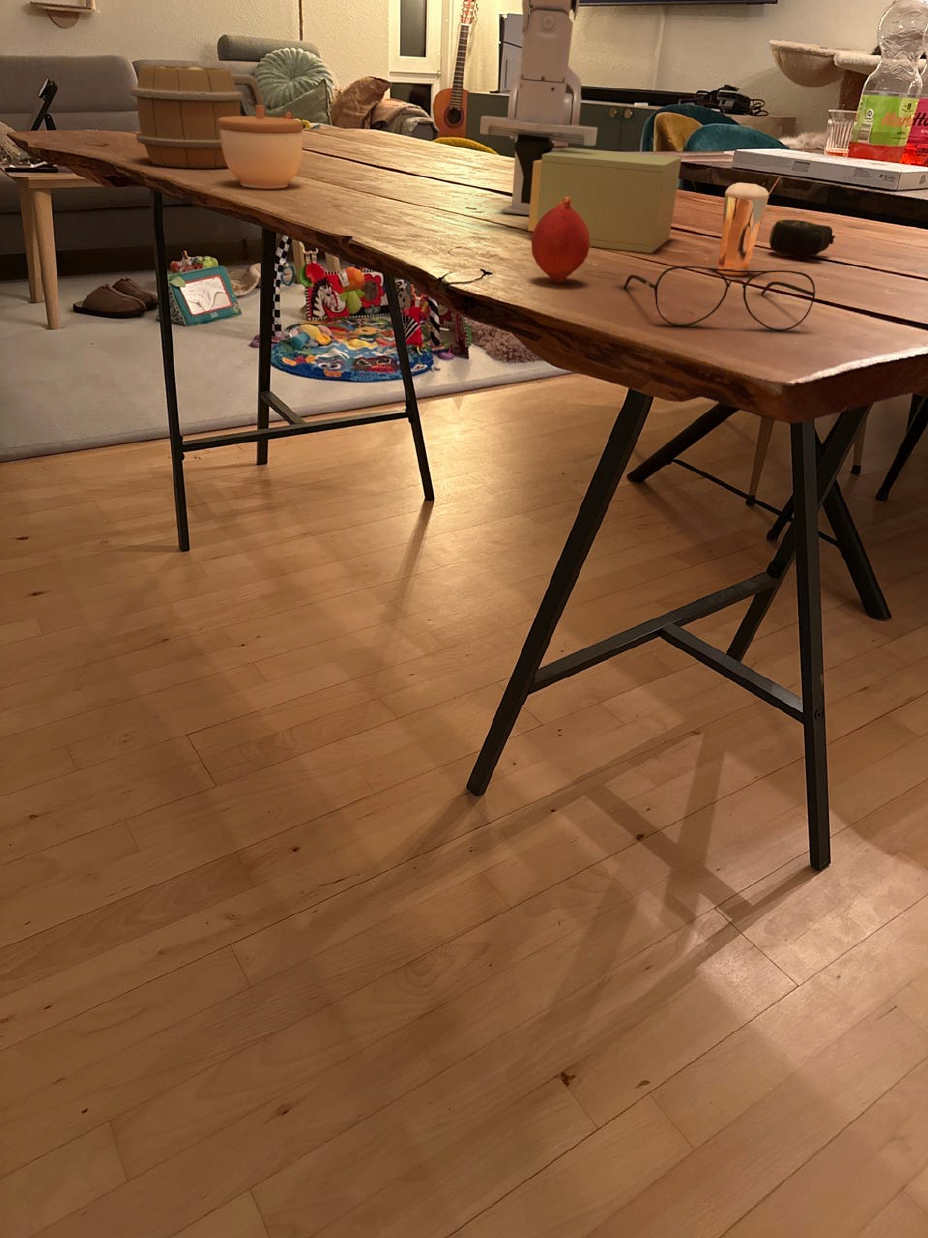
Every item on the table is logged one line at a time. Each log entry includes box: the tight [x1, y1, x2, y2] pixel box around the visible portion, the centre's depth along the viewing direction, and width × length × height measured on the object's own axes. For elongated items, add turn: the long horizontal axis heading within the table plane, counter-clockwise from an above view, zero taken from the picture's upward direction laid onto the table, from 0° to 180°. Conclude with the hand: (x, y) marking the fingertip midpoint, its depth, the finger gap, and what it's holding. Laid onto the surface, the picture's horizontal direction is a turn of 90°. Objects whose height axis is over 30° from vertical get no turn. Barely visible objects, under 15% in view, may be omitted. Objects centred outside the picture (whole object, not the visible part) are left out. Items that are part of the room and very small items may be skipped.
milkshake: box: [717, 176, 781, 277], centre depth 101 cm, size 4×5×10 cm
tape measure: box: [768, 219, 836, 259], centre depth 114 cm, size 7×7×4 cm
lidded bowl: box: [218, 105, 304, 190], centre depth 143 cm, size 13×13×11 cm
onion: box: [531, 197, 591, 283], centre depth 93 cm, size 6×6×8 cm
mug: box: [130, 64, 268, 170], centre depth 164 cm, size 19×25×15 cm
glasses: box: [623, 265, 816, 332], centre depth 87 cm, size 14×15×5 cm
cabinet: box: [537, 147, 682, 254], centre depth 116 cm, size 15×12×10 cm
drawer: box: [527, 159, 542, 232], centre depth 116 cm, size 15×10×8 cm
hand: (530, 202), depth 119 cm, fingers closed, pressing on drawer
